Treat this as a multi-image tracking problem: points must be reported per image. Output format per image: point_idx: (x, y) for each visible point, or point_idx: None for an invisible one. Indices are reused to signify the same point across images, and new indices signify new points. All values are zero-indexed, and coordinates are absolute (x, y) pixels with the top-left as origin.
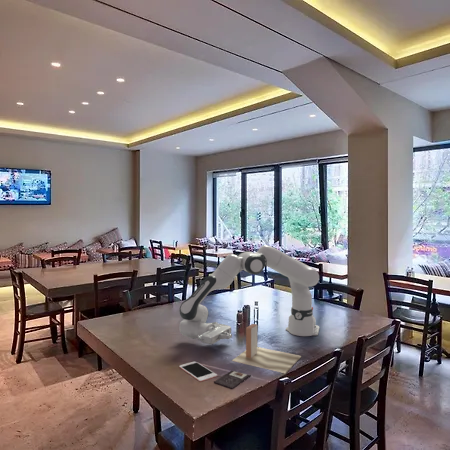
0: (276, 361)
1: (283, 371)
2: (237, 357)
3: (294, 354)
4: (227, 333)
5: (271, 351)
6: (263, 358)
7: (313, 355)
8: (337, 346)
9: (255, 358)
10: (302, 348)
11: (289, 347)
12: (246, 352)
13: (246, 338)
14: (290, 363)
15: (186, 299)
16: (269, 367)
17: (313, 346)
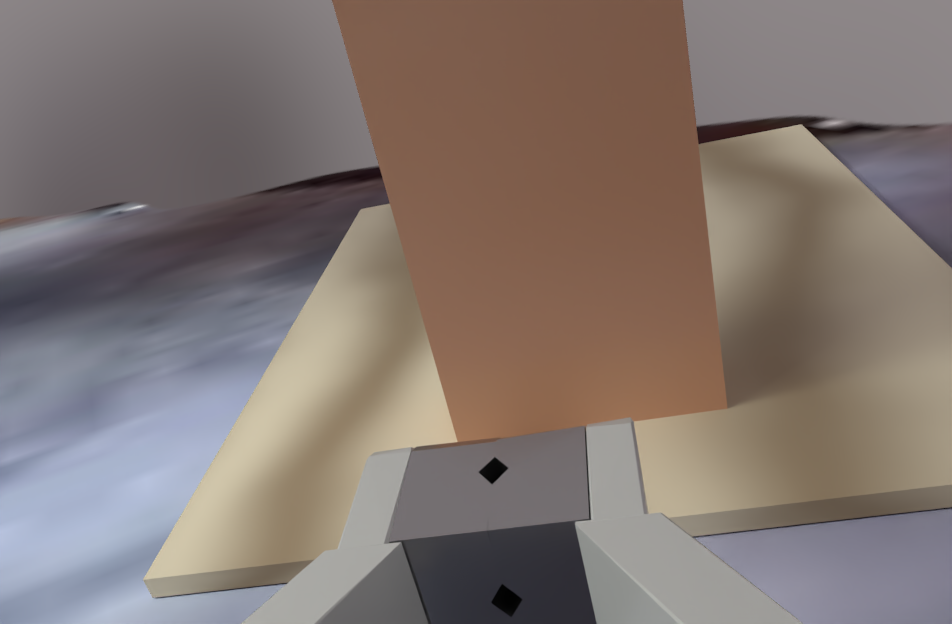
0: None
1: (777, 137)
2: (884, 472)
3: (348, 232)
4: (351, 584)
5: (337, 334)
6: None
7: (298, 208)
8: (83, 218)
9: None
10: (146, 279)
11: (128, 330)
12: (718, 329)
13: (687, 52)
14: None
15: None
16: (799, 187)
17: (88, 266)
